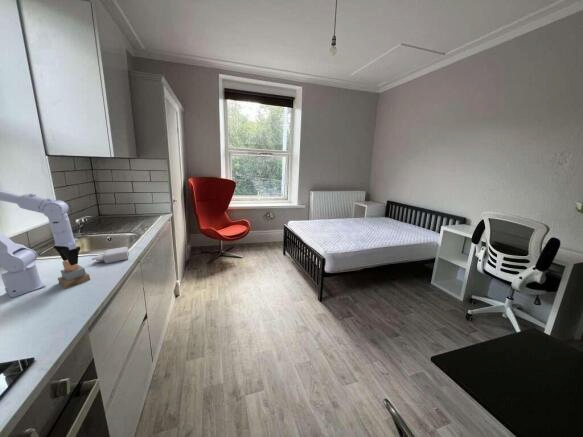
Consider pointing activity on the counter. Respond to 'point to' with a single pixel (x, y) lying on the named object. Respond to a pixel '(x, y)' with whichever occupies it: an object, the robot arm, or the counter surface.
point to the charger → (113, 255)
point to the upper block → (73, 273)
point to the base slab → (73, 281)
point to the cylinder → (69, 266)
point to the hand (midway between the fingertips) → (70, 262)
